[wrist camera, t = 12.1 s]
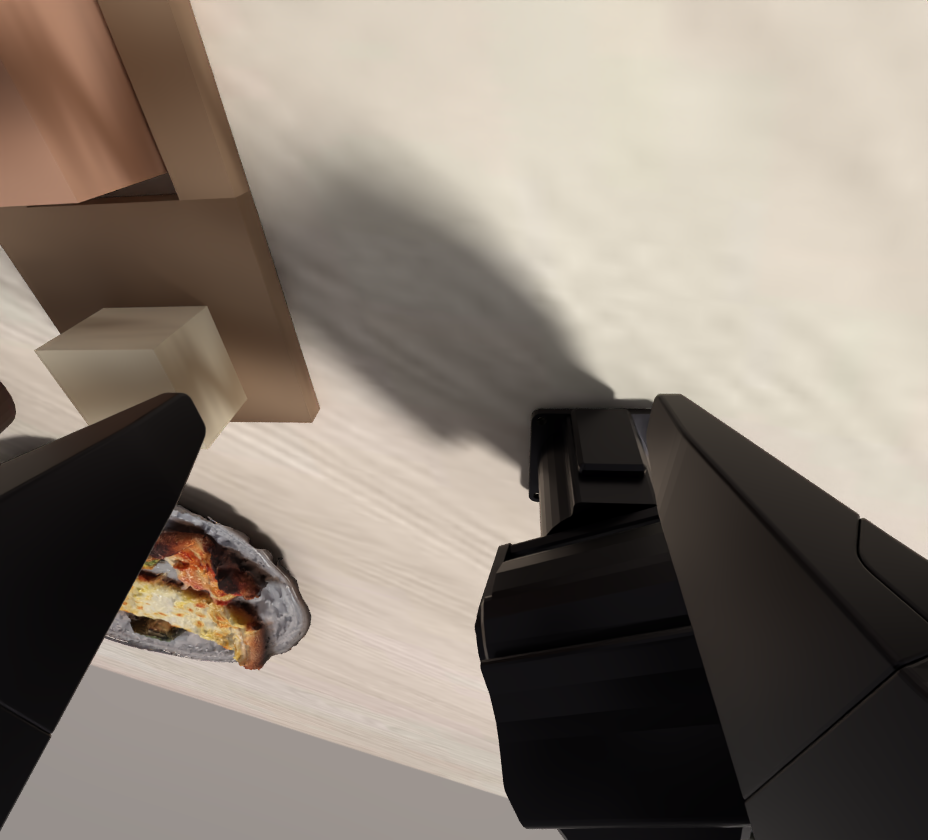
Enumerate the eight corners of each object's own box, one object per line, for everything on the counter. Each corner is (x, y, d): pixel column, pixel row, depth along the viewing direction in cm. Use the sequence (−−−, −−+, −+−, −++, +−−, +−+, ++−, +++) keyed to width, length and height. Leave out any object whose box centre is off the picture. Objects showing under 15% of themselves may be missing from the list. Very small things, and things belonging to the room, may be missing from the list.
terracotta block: (173, 170, 18) (78, 202, 14) (59, 177, 19) (-62, 210, 15) (103, -2, 15) (-43, -22, 11) (-31, 12, 15) (-215, -2, 12)
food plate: (350, 543, 32) (332, 589, 29) (288, 663, 46) (272, 702, 43) (-42, 398, 28) (-106, 435, 25) (22, 579, 42) (-14, 616, 39)
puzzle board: (320, 408, 25) (282, 475, 21) (133, 407, 26) (65, 469, 22) (-124, -978, 7) (-835, -2121, 4) (-621, -785, 9) (-1553, -1470, 5)
